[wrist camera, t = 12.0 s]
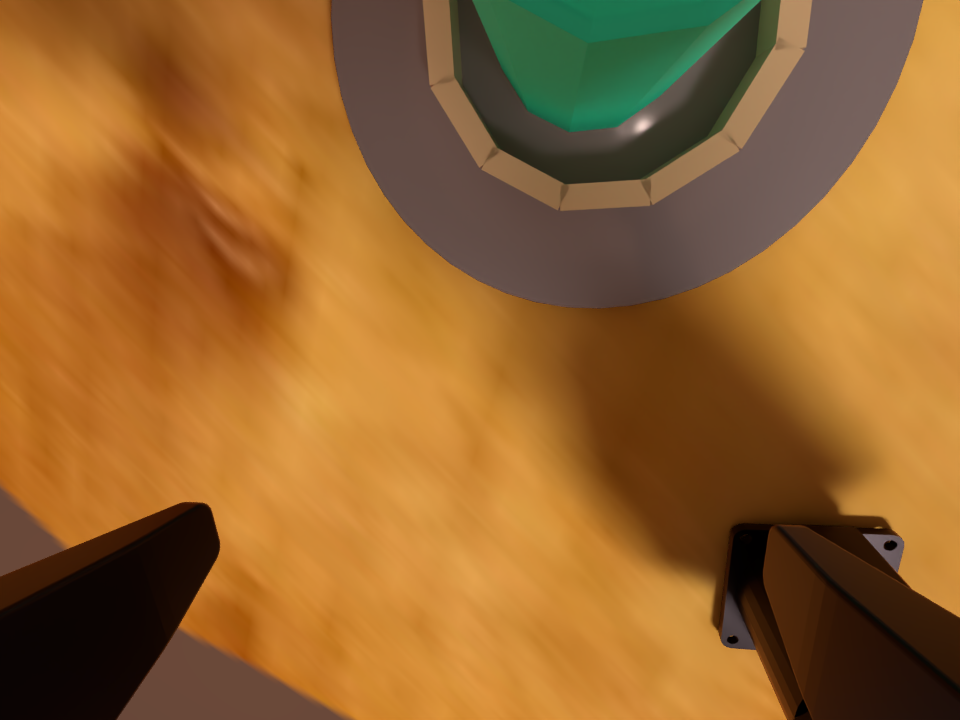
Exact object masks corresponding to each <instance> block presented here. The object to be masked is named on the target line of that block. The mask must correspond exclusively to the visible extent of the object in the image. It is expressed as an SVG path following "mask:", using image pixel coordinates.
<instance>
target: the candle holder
mask: <svg viewBox="0 0 960 720" xmlns="http://www.w3.org/2000/svg"><path fill="white" fill-rule="evenodd" d="M922 3H923V0H761V1H760V2H759V3H758V4H757V5H755V6H754V7H753V8H752V9H751V10H750V11H749V12H748V13H747V14H746V15H745V16H744V17H743V18H742V19H741V20H740V21H739V22H738V23H736V24H735V25H734V26H733V27H732V28H731V29H730V30H729V31H728V32H727V33H726V34H725V35H724V36H723V37H722V38H721V39H720V40H719V41H717V42H716V43H715V44H714V45H713V46H712V47H711V48H710V49H709V50H708V51H707V52H706V53H705V54H704V55H703V56H702V57H701V58H700V59H699V60H697V61H696V62H695V63H694V64H693V65H692V66H691V67H690V68H689V69H688V70H687V71H686V72H685V73H684V74H683V75H682V76H681V77H680V78H678V79H677V80H676V81H675V82H674V83H673V84H672V85H671V86H670V87H669V88H668V89H667V90H666V91H665V92H664V93H663V94H662V95H661V96H659V97H658V98H657V99H655V100H654V101H652V102H651V103H650V104H648V105H647V106H646V107H644V108H643V109H641V110H640V111H639V112H637V113H636V114H634V115H633V116H632V117H630V118H629V119H627V120H626V121H625V122H623V123H622V124H621V125H619V126H618V127H614V128H604V129H595V130H586V131H577V132H568V131H566V130H564V129H562V128H560V127H558V126H556V125H554V124H552V123H550V122H548V121H546V120H544V119H542V118H540V117H538V116H536V115H534V114H532V113H530V112H528V111H527V109H526V107H525V106H524V104H523V103H522V101H521V99H520V98H519V96H518V94H517V93H516V91H515V90H514V88H513V86H512V85H511V83H510V81H509V80H508V78H507V76H506V75H505V73H504V72H503V70H502V68H501V65H500V63H499V61H498V59H497V56H496V54H495V52H494V49H493V47H492V45H491V42H490V40H489V38H488V35H487V33H486V31H485V29H484V26H483V24H482V22H481V19H480V17H479V15H478V12H477V10H476V8H475V5H474V3H473V1H472V0H332V10H331V21H332V34H333V47H334V59H335V64H336V70H337V75H338V80H339V86H340V91H341V96H342V100H343V103H344V106H345V109H346V113H347V116H348V119H349V123H350V126H351V129H352V132H353V134H354V137H355V139H356V141H357V144H358V146H359V148H360V151H361V153H362V155H363V158H364V160H365V162H366V164H367V166H368V168H369V170H370V171H371V173H372V175H373V177H374V178H375V180H376V182H377V183H378V185H379V187H380V189H381V190H382V192H383V194H384V195H385V197H386V198H387V199H388V201H389V202H390V203H391V205H392V206H393V207H394V209H395V210H396V211H397V213H398V214H399V215H400V217H401V218H402V219H403V220H404V222H405V223H406V224H407V225H408V226H409V227H410V228H411V229H412V230H413V231H414V232H415V233H416V234H417V235H418V236H419V237H420V238H421V239H422V240H423V241H424V242H425V243H426V244H427V245H428V246H429V247H430V248H432V249H433V250H434V251H435V252H437V253H438V254H439V255H440V256H442V257H443V258H444V259H445V260H447V261H448V262H449V263H450V264H452V265H453V266H455V267H457V268H458V269H460V270H461V271H463V272H465V273H466V274H468V275H470V276H471V277H473V278H475V279H476V280H478V281H480V282H482V283H485V284H487V285H489V286H491V287H493V288H496V289H498V290H500V291H502V292H505V293H507V294H511V295H514V296H517V297H521V298H524V299H527V300H531V301H534V302H538V303H544V304H550V305H557V306H563V307H575V308H609V307H620V306H631V305H636V304H641V303H646V302H650V301H655V300H659V299H664V298H667V297H670V296H673V295H676V294H679V293H682V292H685V291H688V290H691V289H694V288H697V287H699V286H701V285H703V284H705V283H707V282H710V281H712V280H714V279H716V278H718V277H720V276H722V275H724V274H726V273H728V272H730V271H732V270H734V269H735V268H737V267H739V266H740V265H742V264H743V263H745V262H747V261H748V260H750V259H751V258H753V257H755V256H756V255H758V254H759V253H761V252H762V251H764V250H765V249H767V248H768V247H769V246H770V245H772V244H773V243H774V242H775V241H777V240H778V239H779V238H780V237H782V236H783V235H784V234H785V233H787V232H788V231H789V230H790V229H792V228H793V227H794V226H795V225H796V224H797V223H798V222H799V221H800V220H801V219H802V218H803V217H804V216H805V215H806V214H807V213H808V212H810V211H811V210H812V209H813V208H814V207H815V206H816V205H817V204H818V203H819V202H820V201H821V200H822V199H823V198H824V197H825V195H826V194H827V193H828V192H829V190H830V189H831V188H832V187H833V186H834V184H835V183H836V182H837V181H838V179H839V178H840V177H841V176H842V174H843V173H844V172H845V171H846V170H847V168H848V167H849V166H850V165H851V163H852V162H853V160H854V159H855V157H856V156H857V154H858V153H859V151H860V150H861V148H862V147H863V145H864V143H865V142H866V140H867V139H868V137H869V136H870V134H871V133H872V131H873V130H874V128H875V126H876V125H877V123H878V121H879V119H880V117H881V115H882V113H883V111H884V109H885V107H886V105H887V103H888V101H889V99H890V97H891V95H892V93H893V91H894V89H895V87H896V85H897V83H898V80H899V77H900V75H901V72H902V69H903V66H904V64H905V61H906V58H907V56H908V53H909V50H910V48H911V45H912V42H913V40H914V36H915V32H916V28H917V24H918V19H919V15H920V11H921V7H922Z"/></svg>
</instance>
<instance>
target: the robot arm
mask: <svg viewBox="0 0 960 720" xmlns="http://www.w3.org/2000/svg"><path fill="white" fill-rule="evenodd" d="M745 534H747V535H748V536H747V537H745V538H740V536H742V535H745ZM890 540H891V541H890ZM887 541H890V542H889V543H887V544H884V543H885V542H887ZM903 549H904V541H903V540H902V538H901V537H900V536H899V535H898V534H897V533H896V532H894V531H893V530H890V529H875V528H855V527H844V526H817V525H778V524H777V525H768V524H738V525H736V526H734V527H733V528H732V529H731V531H730V536H729V545H728V554H727V562H726V571H725V580H724V588H723V597H722V605H721V614H720V623H719V631H718V632H719V636H720V639H721V642H722V643H723V645H725V646H726V647H729V648H737V649H751V650H757V653H758V655H759V657H760V660H761V662H762V664H763V666H764V669H765V671H766V673H767V675H768V678H769V680H770V682H771V685H772V687H773V689H774V691H775V694H776V696H777V698H778V700H779V703H780V705H781V707H782V710H783V712H784V714H785V716H786V719H787V720H960V618H959V617H958V616H956V615H954V614H953V613H951V612H949V611H948V610H946V609H944V608H942V607H941V606H939V605H937V604H936V603H934V602H932V601H931V600H929V599H927V598H926V597H924V596H922V595H920V594H919V593H917V592H915V591H914V590H912V589H911V587H910V586H909V585H908V584H907V583H906V582H905V581H904V580H903V579H902V577H901V576H900V575H899V574H898V569H899V565H900V561H901V557H902V553H903ZM219 551H220V540H219V536H218V532H217V529H216V525H215V521H214V517H213V514H212V510H211V508H210V507H209V506H208V505H207V504H205V503H198V502H183V503H179V504H177V505H174V506H172V507H169V508H167V509H165V510H162V511H160V512H157V513H155V514H152V515H150V516H147V517H145V518H143V519H140V520H138V521H135V522H133V523H130V524H128V525H125V526H123V527H121V528H118V529H116V530H113V531H111V532H108V533H106V534H103V535H101V536H98V537H96V538H94V539H91V540H89V541H86V542H84V543H81V544H79V545H76V546H74V547H72V548H69V549H67V550H64V551H62V552H59V553H57V554H54V555H52V556H50V557H47V558H45V559H42V560H40V561H37V562H35V563H32V564H30V565H28V566H25V567H23V568H20V569H18V570H15V571H13V572H11V573H8V574H6V575H3V576H1V577H0V720H117V719H118V717H119V716H120V714H121V713H122V711H123V710H124V708H125V707H126V705H127V704H128V703H129V701H130V700H131V698H132V697H133V695H134V694H135V692H136V691H137V689H138V688H139V686H140V685H141V683H142V682H143V681H144V679H145V678H146V676H147V675H148V673H149V672H150V670H151V669H152V667H153V666H154V664H155V663H156V661H157V660H158V658H159V657H160V655H161V654H162V652H163V651H164V649H165V648H166V646H167V645H168V643H169V641H170V640H171V638H172V636H173V635H174V633H175V631H176V630H177V628H178V626H179V624H180V623H181V621H182V619H183V617H184V616H185V614H186V612H187V610H188V609H189V607H190V605H191V603H192V602H193V600H194V598H195V596H196V594H197V593H198V591H199V589H200V587H201V586H202V584H203V582H204V580H205V579H206V577H207V575H208V573H209V572H210V570H211V568H212V566H213V564H214V563H215V561H216V559H217V557H218V554H219ZM732 635H734V636H732ZM729 636H732V637H729Z"/></svg>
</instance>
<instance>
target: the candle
mask: <svg viewBox="0 0 960 720" xmlns="http://www.w3.org/2000/svg"><path fill="white" fill-rule="evenodd" d="M472 1H473V3H474V5H475V8H476V10H477V12H478V15H479V17H480V19H481V22H482V24H483V26H484V29H485V31H486V33H487V35H488V38H489V40H490V42H491V45H492V47H493V49H494V52H495V54H496V56H497V59H498V61H499V63H500V65H501V68H502V70H503V72H504V73H505V75H506V76H507V78H508V80H509V81H510V83H511V85H512V86H513V88H514V90H515V91H516V93H517V94H518V96H519V98H520V99H521V101H522V103H523V104H524V106H525V107H526V109H527V111H528V112H530V113H532V114H534V115H536V116H538V117H540V118H542V119H544V120H546V121H548V122H550V123H552V124H554V125H556V126H558V127H560V128H562V129H564V130H566V131H568V132H577V131H586V130H595V129H604V128H614V127H618V126H619V125H621V124H622V123H623V122H625V121H626V120H627V119H629V118H630V117H632V116H633V115H634V114H636V113H637V112H639V111H640V110H641V109H643V108H644V107H646V106H647V105H648V104H650V103H651V102H652V101H654V100H655V99H657V98H658V97H659V96H661V95H662V94H663V93H664V92H665V91H666V90H667V89H668V88H669V87H670V86H671V85H672V84H673V83H674V82H675V81H676V80H677V79H678V78H680V77H681V76H682V75H683V74H684V73H685V72H686V71H687V70H688V69H689V68H690V67H691V66H692V65H693V64H694V63H695V62H696V61H697V60H699V59H700V58H701V57H702V56H703V55H704V54H705V53H706V52H707V51H708V50H709V49H710V48H711V47H712V46H713V45H714V44H715V43H716V42H717V41H719V40H720V39H721V38H722V37H723V36H724V35H725V34H726V33H727V32H728V31H729V30H730V29H731V28H732V27H733V26H734V25H735V24H736V23H738V22H739V21H740V20H741V19H742V18H743V17H744V16H745V15H746V14H747V13H748V12H749V11H750V10H751V9H752V8H753V7H754V6H755V5H757V4H758V3H759V2H760V1H761V0H472Z"/></svg>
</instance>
